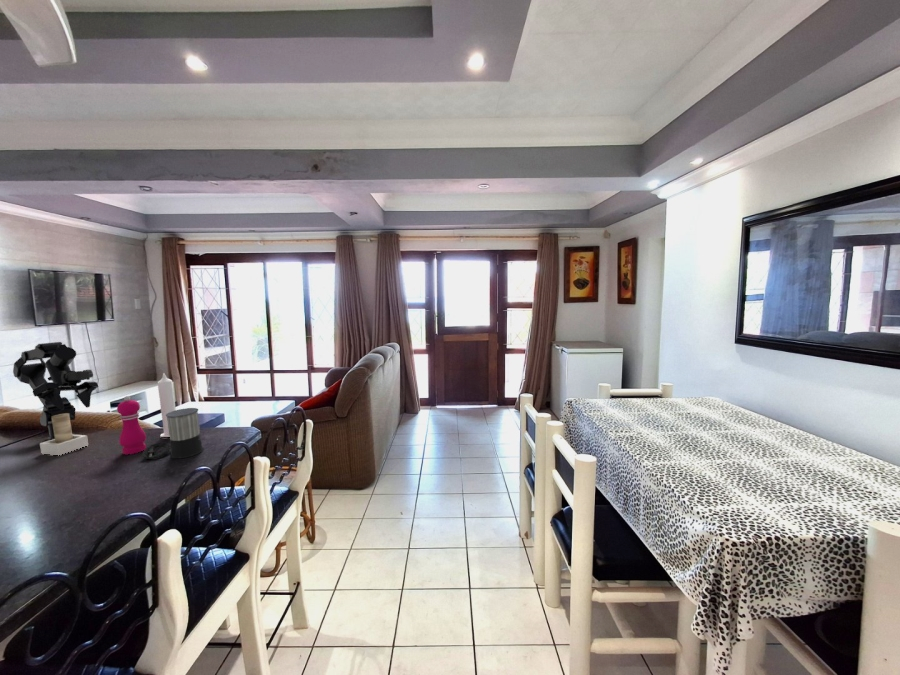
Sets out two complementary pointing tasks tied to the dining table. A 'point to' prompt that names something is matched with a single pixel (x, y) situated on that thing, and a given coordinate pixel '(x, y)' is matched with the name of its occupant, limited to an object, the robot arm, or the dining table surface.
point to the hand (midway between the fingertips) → (76, 408)
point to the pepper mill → (131, 427)
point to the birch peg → (62, 428)
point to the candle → (166, 401)
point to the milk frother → (180, 435)
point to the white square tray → (64, 445)
